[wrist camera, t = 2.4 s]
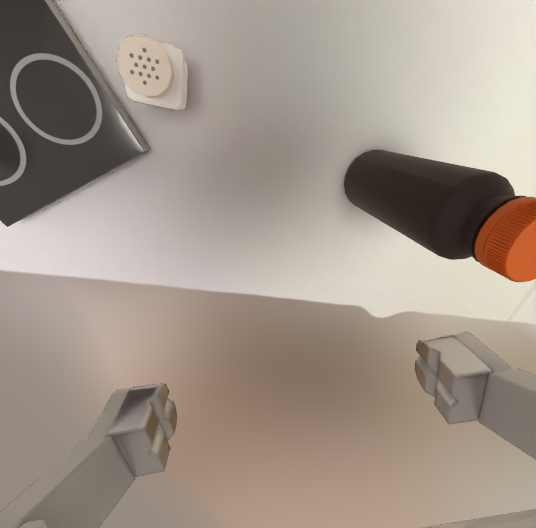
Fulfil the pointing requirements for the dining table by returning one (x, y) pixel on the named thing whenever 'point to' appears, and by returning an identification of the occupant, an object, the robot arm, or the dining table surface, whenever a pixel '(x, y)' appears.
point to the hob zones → (48, 108)
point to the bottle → (449, 209)
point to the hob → (38, 147)
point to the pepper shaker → (153, 72)
